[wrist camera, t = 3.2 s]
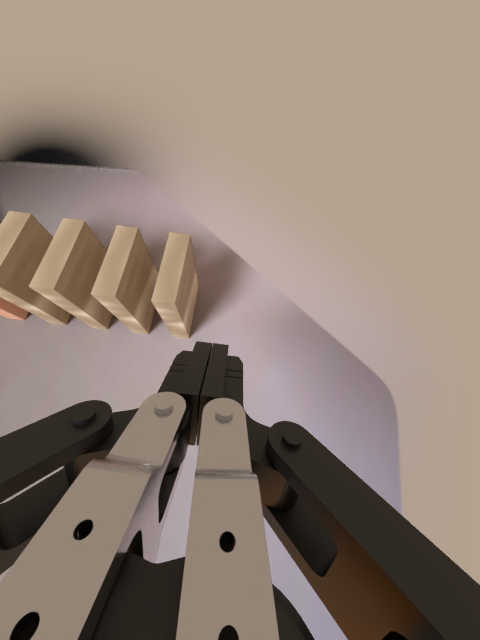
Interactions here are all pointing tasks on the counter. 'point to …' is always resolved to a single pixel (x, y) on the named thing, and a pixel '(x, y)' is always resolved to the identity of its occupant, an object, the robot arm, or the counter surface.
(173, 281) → the domino
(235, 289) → the counter surface
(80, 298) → the domino
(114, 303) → the domino
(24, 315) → the domino
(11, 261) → the domino
